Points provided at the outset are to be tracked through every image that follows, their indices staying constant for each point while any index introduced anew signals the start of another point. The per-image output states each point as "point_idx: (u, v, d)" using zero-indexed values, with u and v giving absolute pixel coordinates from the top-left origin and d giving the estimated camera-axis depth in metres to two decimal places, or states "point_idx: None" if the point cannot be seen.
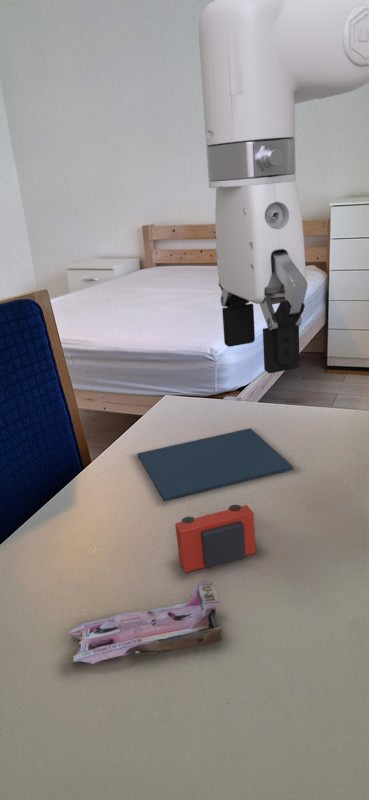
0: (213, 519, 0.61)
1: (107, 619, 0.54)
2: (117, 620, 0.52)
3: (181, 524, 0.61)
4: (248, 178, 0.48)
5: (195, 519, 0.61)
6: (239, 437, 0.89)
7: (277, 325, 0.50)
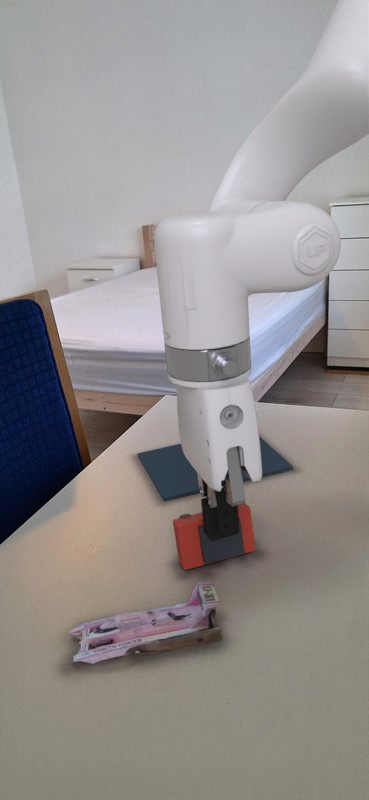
0: None
1: (107, 619, 0.54)
2: (117, 620, 0.52)
3: (179, 520, 0.61)
4: (203, 381, 0.50)
5: (192, 515, 0.62)
6: None
7: (216, 505, 0.56)
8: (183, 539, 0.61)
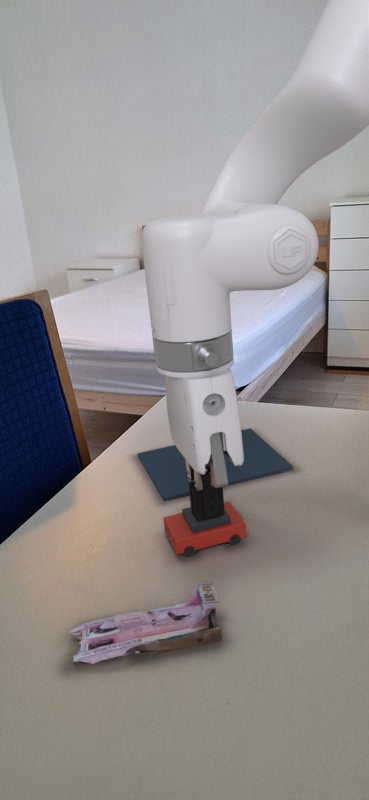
0: None
1: (107, 619, 0.54)
2: (117, 620, 0.52)
3: None
4: (188, 372, 0.54)
5: None
6: None
7: (202, 488, 0.60)
8: (170, 523, 0.66)
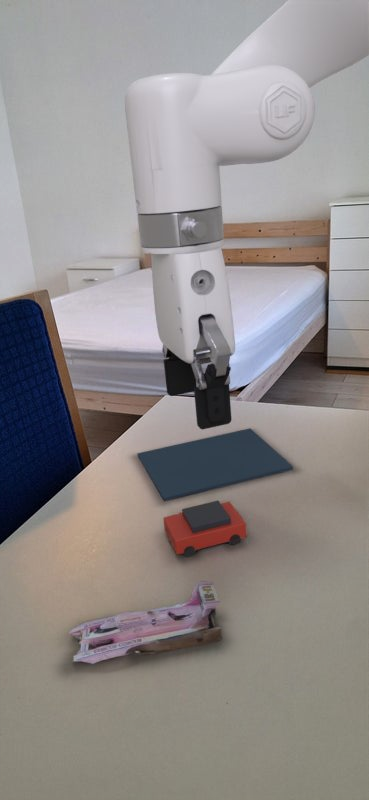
0: None
1: (107, 619, 0.54)
2: (117, 620, 0.52)
3: None
4: (174, 247, 0.50)
5: None
6: (239, 437, 0.89)
7: (206, 386, 0.52)
8: (170, 523, 0.66)
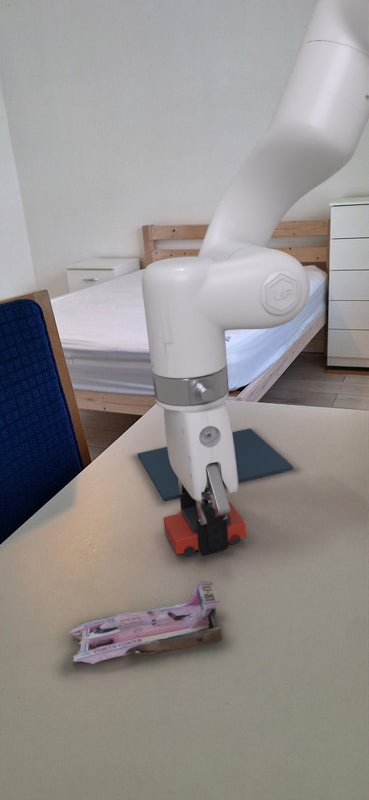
0: None
1: (107, 619, 0.54)
2: (117, 620, 0.52)
3: None
4: (185, 406, 0.57)
5: None
6: (239, 437, 0.89)
7: (206, 523, 0.61)
8: (170, 523, 0.66)
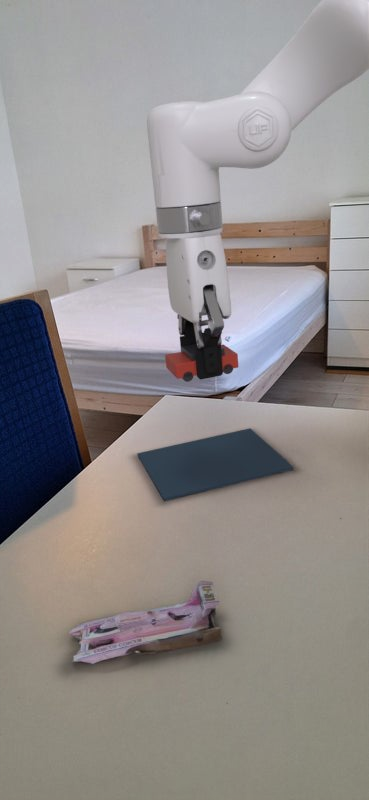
0: None
1: (107, 619, 0.54)
2: (117, 620, 0.52)
3: None
4: (185, 233, 0.66)
5: None
6: (239, 437, 0.89)
7: (203, 345, 0.70)
8: (171, 357, 0.75)
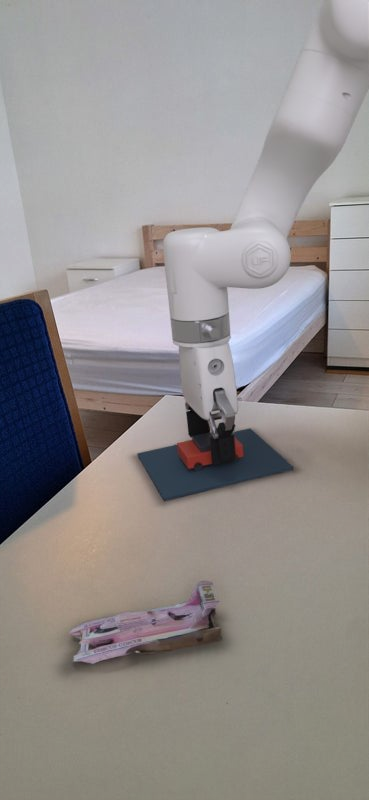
0: None
1: (107, 619, 0.54)
2: (117, 620, 0.52)
3: None
4: (196, 343, 0.73)
5: None
6: (239, 437, 0.89)
7: (218, 436, 0.75)
8: (182, 446, 0.82)
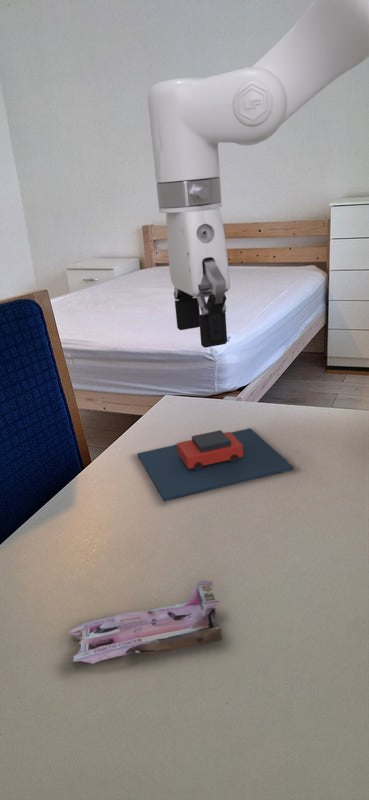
0: None
1: (107, 619, 0.54)
2: (117, 620, 0.52)
3: None
4: (184, 207, 0.68)
5: None
6: (239, 437, 0.89)
7: (208, 312, 0.70)
8: (182, 446, 0.82)
